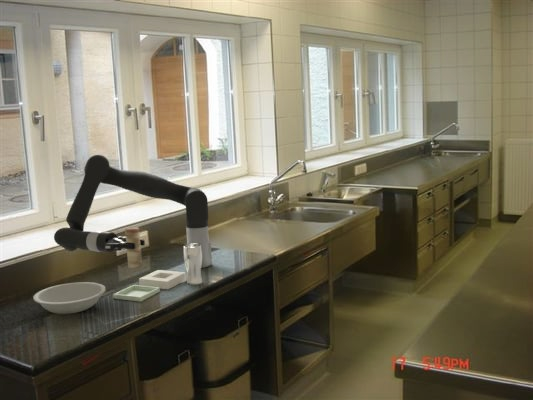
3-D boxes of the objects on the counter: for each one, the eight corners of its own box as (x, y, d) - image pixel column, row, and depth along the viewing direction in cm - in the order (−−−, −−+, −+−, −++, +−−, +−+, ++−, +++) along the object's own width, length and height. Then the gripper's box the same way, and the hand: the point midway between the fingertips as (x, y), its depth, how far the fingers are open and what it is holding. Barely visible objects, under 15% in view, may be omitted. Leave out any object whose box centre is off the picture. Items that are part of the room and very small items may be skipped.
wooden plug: (138, 263, 233) (135, 226, 230) (144, 266, 229) (141, 228, 226) (126, 266, 230) (122, 228, 228) (131, 269, 226) (128, 231, 223)
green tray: (133, 289, 239) (133, 284, 239) (160, 292, 234) (159, 287, 234) (113, 299, 228) (113, 294, 228) (140, 302, 223) (140, 297, 223)
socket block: (158, 278, 253) (158, 269, 253) (186, 280, 248) (185, 272, 247) (139, 287, 242) (138, 278, 241) (168, 290, 236) (167, 281, 236)
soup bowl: (37, 327, 203) (35, 308, 202) (33, 306, 225) (31, 288, 223) (112, 314, 212) (111, 295, 211) (101, 295, 234) (99, 278, 233)
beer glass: (189, 286, 240) (186, 248, 238) (183, 282, 246) (180, 244, 244) (206, 283, 243) (203, 245, 241) (199, 279, 249) (197, 242, 247)
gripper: (88, 236, 227) (126, 238, 220) (113, 227, 240) (150, 229, 233) (89, 256, 228) (128, 259, 221) (114, 246, 241) (151, 249, 234)
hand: (139, 244), depth 227 cm, fingers closed on wooden plug, 5 cm apart
